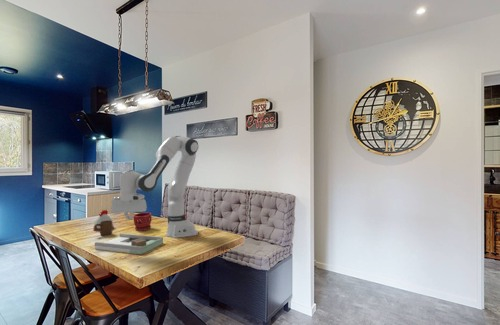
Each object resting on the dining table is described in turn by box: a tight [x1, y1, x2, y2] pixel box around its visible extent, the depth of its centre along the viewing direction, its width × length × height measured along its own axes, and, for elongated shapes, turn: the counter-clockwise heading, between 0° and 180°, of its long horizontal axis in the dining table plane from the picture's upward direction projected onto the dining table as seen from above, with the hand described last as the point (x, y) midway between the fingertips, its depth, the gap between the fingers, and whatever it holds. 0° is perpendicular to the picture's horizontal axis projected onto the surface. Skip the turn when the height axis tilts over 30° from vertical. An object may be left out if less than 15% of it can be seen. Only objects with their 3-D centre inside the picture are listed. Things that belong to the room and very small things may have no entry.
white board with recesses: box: [94, 232, 164, 254], centre depth 155 cm, size 34×20×4 cm, turn 73°
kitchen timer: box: [93, 209, 114, 232], centre depth 197 cm, size 14×14×15 cm
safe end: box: [129, 238, 164, 255], centre depth 151 cm, size 8×20×4 cm, turn 163°
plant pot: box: [132, 212, 152, 231], centre depth 195 cm, size 13×13×12 cm
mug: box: [93, 220, 113, 237], centre depth 179 cm, size 12×8×9 cm, turn 146°
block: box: [131, 238, 146, 247], centre depth 147 cm, size 6×6×4 cm
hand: (129, 219), depth 150 cm, fingers closed
